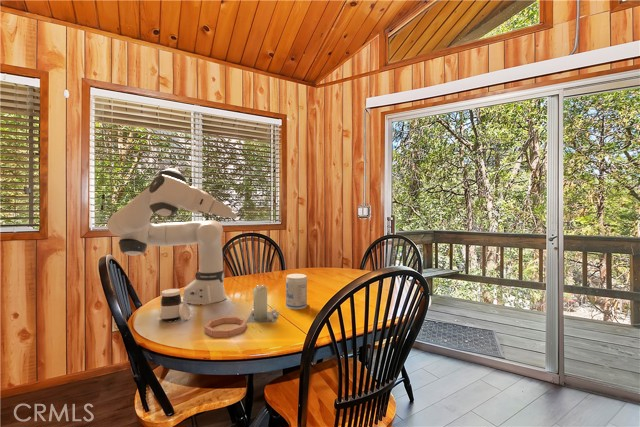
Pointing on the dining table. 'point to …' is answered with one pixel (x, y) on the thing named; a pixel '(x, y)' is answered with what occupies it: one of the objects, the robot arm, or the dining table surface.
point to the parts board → (271, 317)
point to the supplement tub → (296, 291)
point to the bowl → (225, 332)
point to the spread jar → (173, 306)
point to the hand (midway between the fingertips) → (230, 215)
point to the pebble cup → (260, 302)
